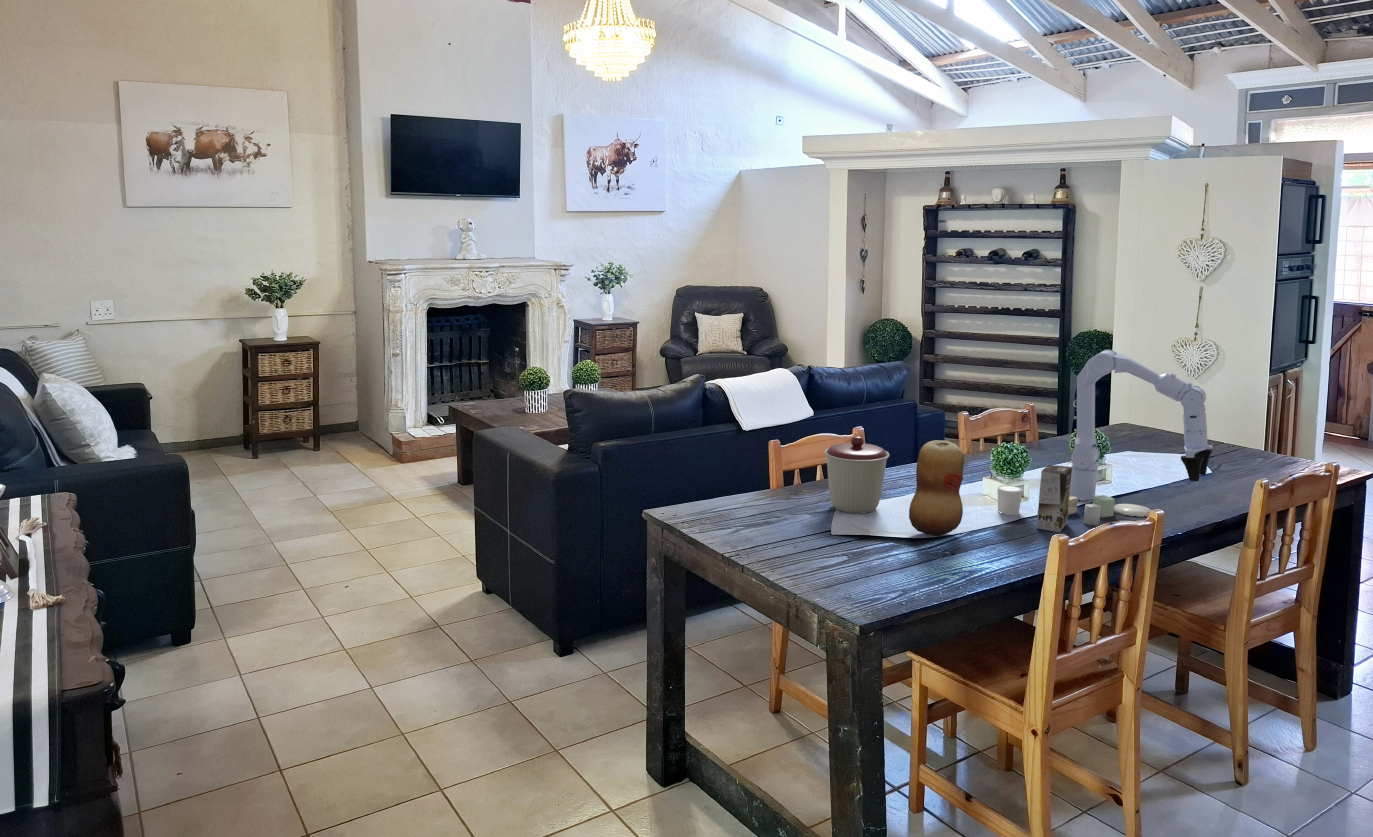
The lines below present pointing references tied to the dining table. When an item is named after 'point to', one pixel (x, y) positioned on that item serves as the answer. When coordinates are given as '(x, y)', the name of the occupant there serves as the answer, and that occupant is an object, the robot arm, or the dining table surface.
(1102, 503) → the sage block
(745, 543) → the dining table surface
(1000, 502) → the white cup
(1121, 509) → the saucer
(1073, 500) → the birch cube
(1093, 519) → the grey cylinder
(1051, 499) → the coffee box
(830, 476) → the canister
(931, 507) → the butternut squash
